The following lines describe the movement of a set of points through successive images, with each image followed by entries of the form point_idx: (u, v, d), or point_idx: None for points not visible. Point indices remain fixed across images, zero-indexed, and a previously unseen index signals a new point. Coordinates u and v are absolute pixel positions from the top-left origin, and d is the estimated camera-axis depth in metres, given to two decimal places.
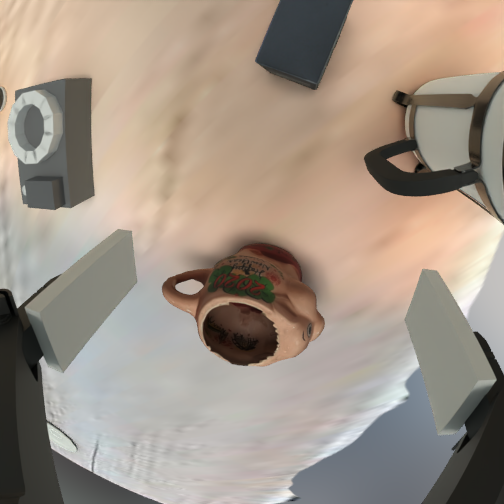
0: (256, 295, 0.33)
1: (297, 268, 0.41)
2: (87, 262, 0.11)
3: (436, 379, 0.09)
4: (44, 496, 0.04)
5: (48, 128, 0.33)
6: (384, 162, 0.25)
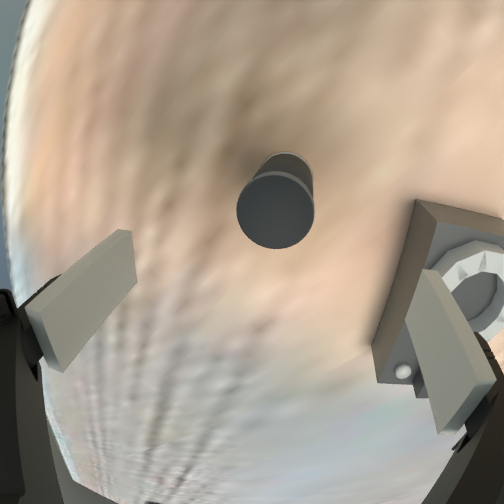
0: None
1: None
2: (87, 262, 0.11)
3: (436, 379, 0.09)
4: (44, 495, 0.04)
5: None
6: None
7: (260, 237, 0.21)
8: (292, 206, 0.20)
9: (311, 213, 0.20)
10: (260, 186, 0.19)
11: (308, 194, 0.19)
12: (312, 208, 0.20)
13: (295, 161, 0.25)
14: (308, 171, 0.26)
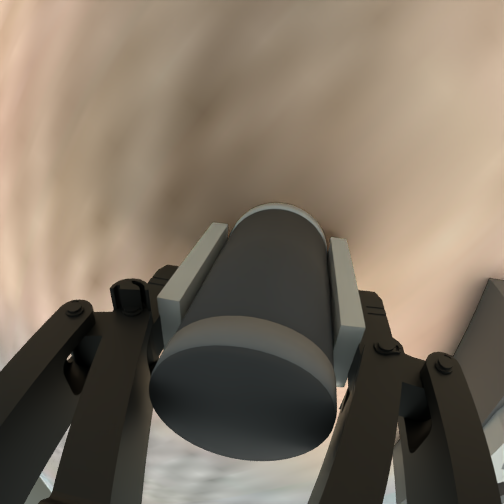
0: None
1: None
2: (202, 252, 0.13)
3: None
4: None
5: None
6: None
7: (211, 444, 0.08)
8: (281, 411, 0.07)
9: (329, 423, 0.07)
10: (196, 370, 0.07)
11: (326, 388, 0.07)
12: (333, 414, 0.07)
13: (295, 237, 0.12)
14: (321, 253, 0.13)
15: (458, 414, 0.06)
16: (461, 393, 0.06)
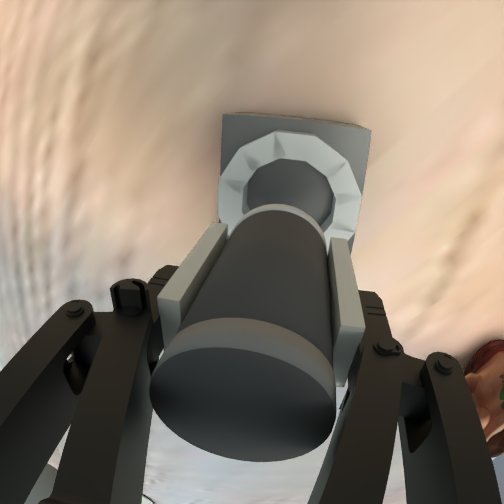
0: None
1: None
2: (202, 252, 0.13)
3: None
4: None
5: (345, 218, 0.23)
6: None
7: (211, 445, 0.08)
8: (280, 412, 0.07)
9: (328, 424, 0.07)
10: (197, 372, 0.07)
11: (325, 390, 0.07)
12: (332, 415, 0.07)
13: (295, 239, 0.12)
14: (321, 254, 0.13)
15: (458, 414, 0.06)
16: (461, 394, 0.06)
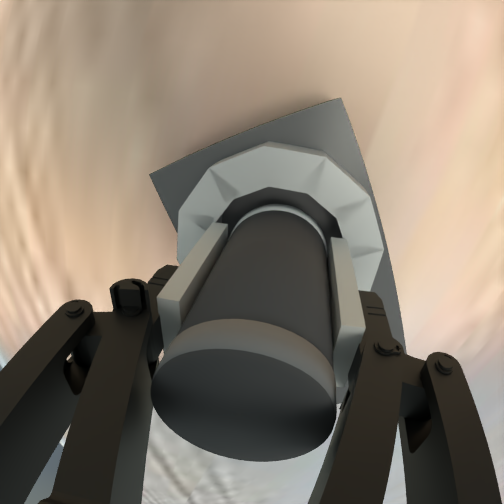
0: None
1: None
2: (202, 252, 0.13)
3: None
4: None
5: (361, 238, 0.15)
6: None
7: (212, 445, 0.08)
8: (281, 412, 0.07)
9: (329, 424, 0.07)
10: (197, 373, 0.07)
11: (325, 390, 0.07)
12: (332, 415, 0.07)
13: (295, 239, 0.12)
14: (320, 254, 0.13)
15: (458, 414, 0.06)
16: (461, 393, 0.06)
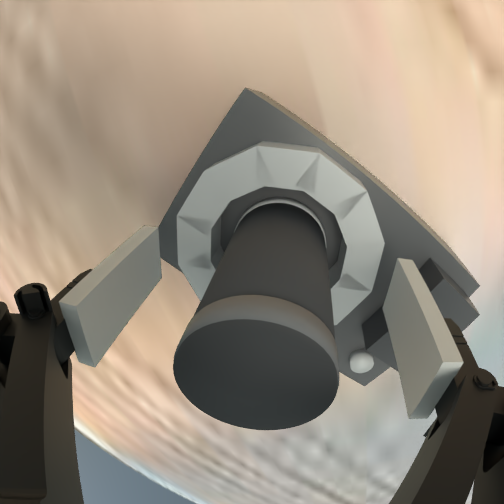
0: None
1: None
2: (118, 257, 0.12)
3: (408, 363, 0.10)
4: (65, 497, 0.04)
5: (339, 193, 0.14)
6: None
7: (227, 415, 0.10)
8: (291, 378, 0.08)
9: (333, 388, 0.08)
10: (218, 342, 0.08)
11: (330, 356, 0.08)
12: (336, 380, 0.08)
13: (297, 228, 0.13)
14: (321, 242, 0.14)
15: None
16: None
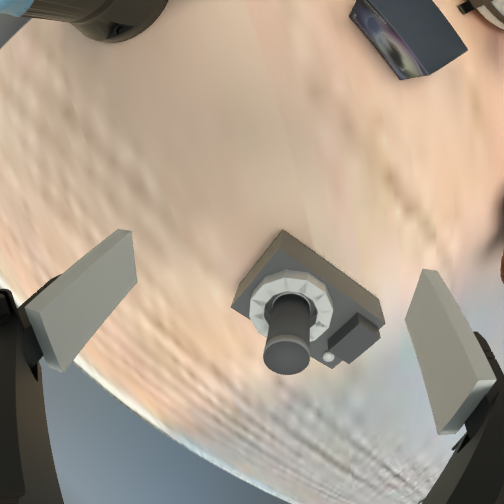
0: None
1: None
2: (87, 262, 0.11)
3: (436, 379, 0.09)
4: (44, 495, 0.04)
5: (314, 294, 0.38)
6: None
7: (277, 369, 0.33)
8: (296, 356, 0.32)
9: (308, 359, 0.32)
10: (279, 347, 0.32)
11: (307, 350, 0.32)
12: (309, 357, 0.32)
13: (299, 308, 0.37)
14: (307, 311, 0.38)
15: None
16: None
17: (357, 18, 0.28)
